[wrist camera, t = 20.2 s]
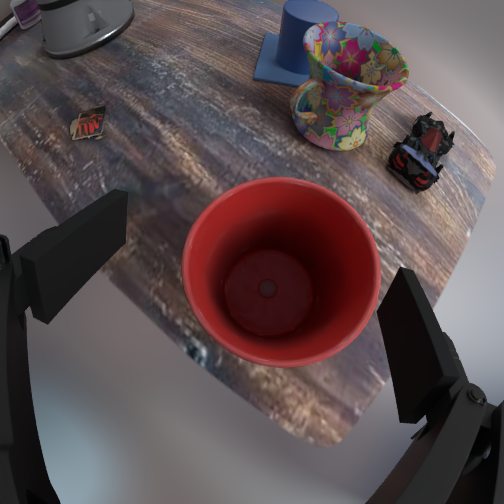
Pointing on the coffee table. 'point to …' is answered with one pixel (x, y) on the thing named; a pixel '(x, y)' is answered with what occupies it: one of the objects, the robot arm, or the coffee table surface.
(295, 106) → the mug
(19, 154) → the coffee table surface
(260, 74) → the blue mat
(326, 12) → the blue tin
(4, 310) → the robot arm
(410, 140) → the toy car
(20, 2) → the pill bottle
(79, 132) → the matchbox
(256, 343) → the flower pot
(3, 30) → the marker
